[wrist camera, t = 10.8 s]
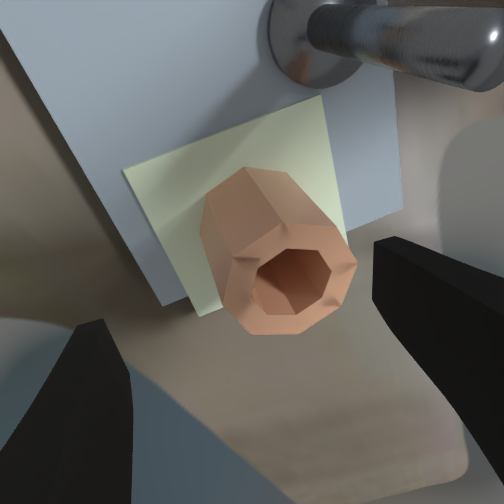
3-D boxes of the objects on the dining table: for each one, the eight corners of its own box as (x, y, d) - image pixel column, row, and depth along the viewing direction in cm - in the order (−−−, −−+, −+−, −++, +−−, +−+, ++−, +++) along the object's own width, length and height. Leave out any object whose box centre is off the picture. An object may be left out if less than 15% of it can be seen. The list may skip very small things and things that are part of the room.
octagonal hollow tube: (314, 175, 19) (372, 229, 15) (287, 263, 22) (329, 333, 17) (211, 162, 18) (241, 218, 13) (194, 259, 20) (215, 335, 15)
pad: (123, 168, 17) (123, 170, 17) (319, 93, 17) (320, 94, 17) (198, 314, 22) (199, 316, 22) (348, 253, 23) (349, 255, 22)
